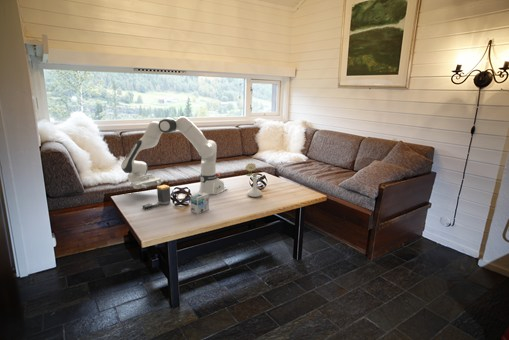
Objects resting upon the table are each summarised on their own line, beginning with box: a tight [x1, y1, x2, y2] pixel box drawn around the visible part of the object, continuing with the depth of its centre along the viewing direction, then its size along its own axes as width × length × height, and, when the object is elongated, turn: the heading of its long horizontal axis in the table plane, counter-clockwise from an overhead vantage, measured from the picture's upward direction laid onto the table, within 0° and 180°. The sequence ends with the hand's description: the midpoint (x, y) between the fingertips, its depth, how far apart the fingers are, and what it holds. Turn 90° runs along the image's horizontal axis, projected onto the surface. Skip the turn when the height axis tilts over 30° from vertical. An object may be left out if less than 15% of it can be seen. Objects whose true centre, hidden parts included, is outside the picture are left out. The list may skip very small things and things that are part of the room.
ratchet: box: [142, 200, 171, 211], centre depth 202 cm, size 19×8×7 cm, turn 139°
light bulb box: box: [190, 192, 210, 215], centre depth 196 cm, size 11×7×11 cm, turn 146°
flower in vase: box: [245, 162, 263, 198], centre depth 224 cm, size 13×11×25 cm
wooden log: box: [156, 184, 171, 203], centre depth 206 cm, size 6×6×10 cm
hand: (152, 185), depth 213 cm, fingers open, 8 cm apart
